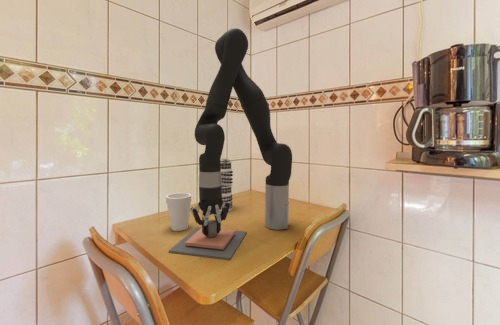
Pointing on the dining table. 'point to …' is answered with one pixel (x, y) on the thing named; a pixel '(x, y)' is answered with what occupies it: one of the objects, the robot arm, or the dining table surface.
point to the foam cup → (179, 210)
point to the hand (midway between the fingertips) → (211, 233)
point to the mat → (209, 252)
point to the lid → (211, 237)
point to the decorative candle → (226, 182)
